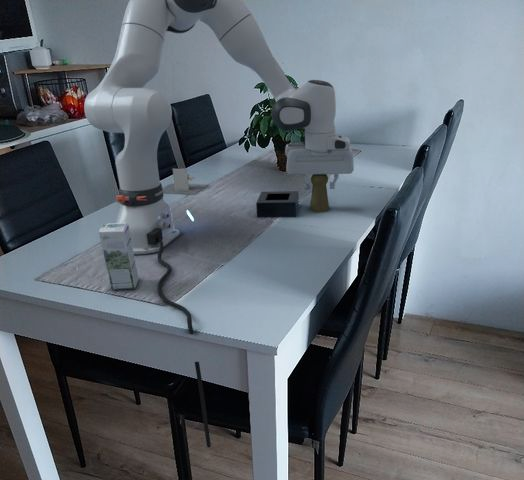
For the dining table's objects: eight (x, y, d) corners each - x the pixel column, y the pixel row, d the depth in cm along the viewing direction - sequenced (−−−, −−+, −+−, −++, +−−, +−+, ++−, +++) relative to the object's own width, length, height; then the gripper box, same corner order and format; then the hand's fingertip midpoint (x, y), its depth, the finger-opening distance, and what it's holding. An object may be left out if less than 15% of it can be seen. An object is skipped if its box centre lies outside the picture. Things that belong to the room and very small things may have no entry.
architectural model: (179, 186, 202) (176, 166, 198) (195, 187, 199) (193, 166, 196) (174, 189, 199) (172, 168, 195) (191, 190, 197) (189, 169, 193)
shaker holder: (295, 216, 165) (295, 202, 163) (257, 217, 167) (256, 202, 164) (298, 204, 175) (298, 190, 173) (262, 205, 177) (261, 191, 174)
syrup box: (139, 279, 132) (128, 221, 124) (135, 289, 127) (123, 229, 119) (115, 280, 132) (103, 222, 124) (110, 291, 127) (97, 231, 119)
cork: (329, 205, 173) (329, 170, 167) (329, 211, 168) (329, 175, 162) (310, 206, 173) (309, 171, 168) (309, 212, 168) (309, 176, 162)
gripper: (283, 144, 158) (285, 192, 165) (354, 142, 155) (353, 190, 163) (285, 140, 163) (287, 186, 171) (354, 138, 161) (352, 185, 168)
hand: (319, 188), depth 167 cm, fingers open, 6 cm apart
